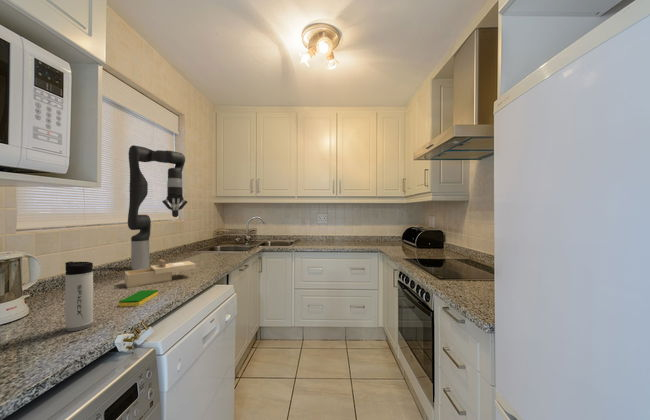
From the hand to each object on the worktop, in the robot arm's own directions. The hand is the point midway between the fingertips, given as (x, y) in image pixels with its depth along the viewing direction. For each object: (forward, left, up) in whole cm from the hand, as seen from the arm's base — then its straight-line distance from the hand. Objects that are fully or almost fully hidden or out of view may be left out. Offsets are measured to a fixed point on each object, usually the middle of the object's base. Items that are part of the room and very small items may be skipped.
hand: (175, 217), depth 152 cm
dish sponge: (+41, -23, -33) cm, 57 cm away
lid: (+12, -4, -27) cm, 30 cm away
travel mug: (+58, -41, -32) cm, 78 cm away
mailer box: (+12, -15, -32) cm, 37 cm away
